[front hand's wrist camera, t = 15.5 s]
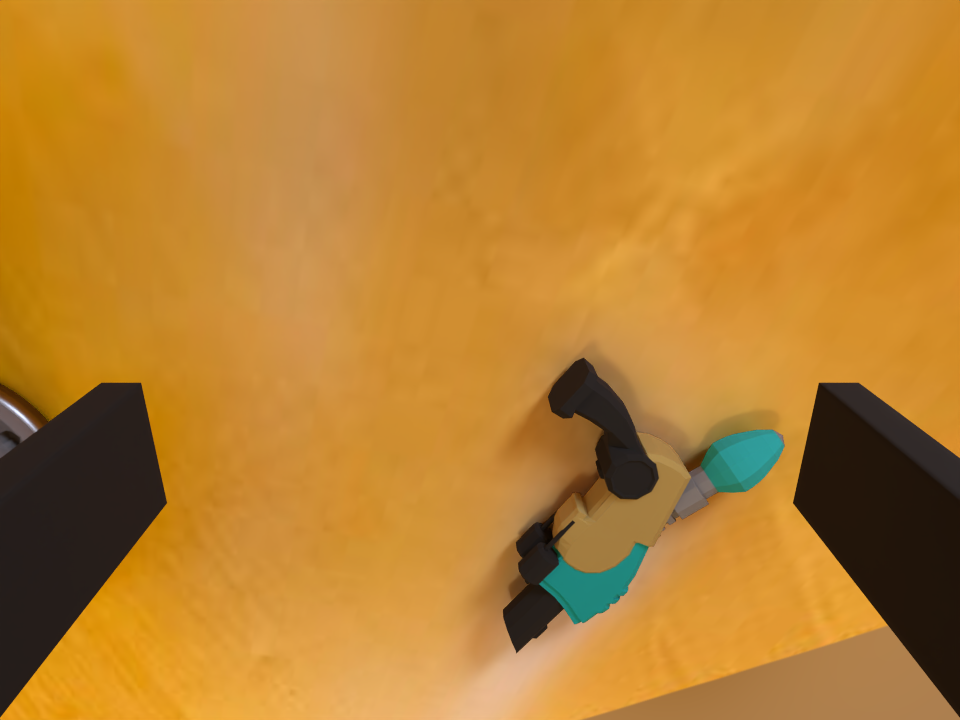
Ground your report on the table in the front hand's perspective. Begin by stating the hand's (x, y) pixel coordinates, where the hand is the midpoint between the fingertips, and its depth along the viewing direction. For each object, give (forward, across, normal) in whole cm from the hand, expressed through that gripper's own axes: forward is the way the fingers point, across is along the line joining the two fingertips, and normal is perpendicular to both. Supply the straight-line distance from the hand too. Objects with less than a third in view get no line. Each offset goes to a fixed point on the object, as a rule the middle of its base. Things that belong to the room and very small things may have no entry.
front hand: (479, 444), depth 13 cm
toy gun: (+30, -8, +21) cm, 37 cm away
